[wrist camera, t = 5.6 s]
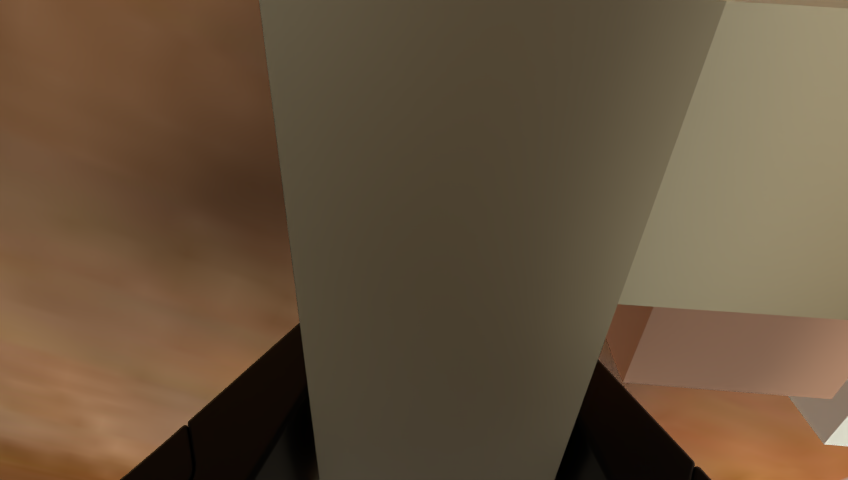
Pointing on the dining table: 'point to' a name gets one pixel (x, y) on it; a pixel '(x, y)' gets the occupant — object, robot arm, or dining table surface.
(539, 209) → the hook
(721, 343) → the block
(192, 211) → the dining table surface
